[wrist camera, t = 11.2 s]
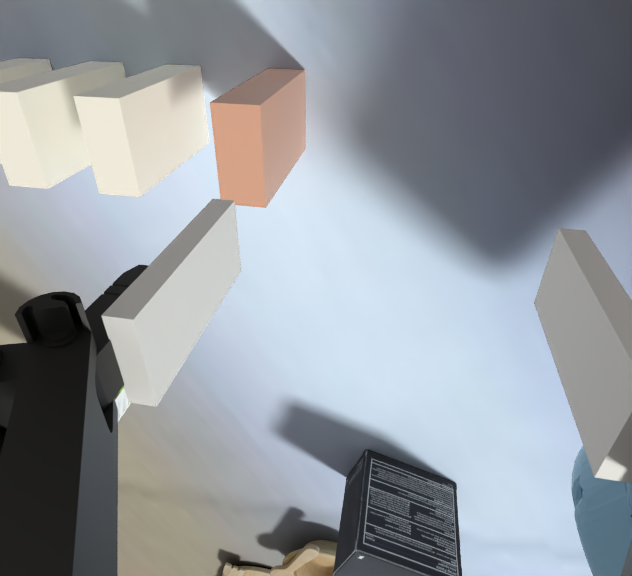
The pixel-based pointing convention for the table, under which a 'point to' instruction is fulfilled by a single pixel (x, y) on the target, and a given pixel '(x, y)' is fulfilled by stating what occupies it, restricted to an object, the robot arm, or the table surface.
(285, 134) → the domino
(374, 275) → the table surface
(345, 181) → the table surface
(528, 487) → the table surface
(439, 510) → the small box
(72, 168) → the domino
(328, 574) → the tableware set
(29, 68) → the domino
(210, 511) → the table surface
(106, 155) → the domino
